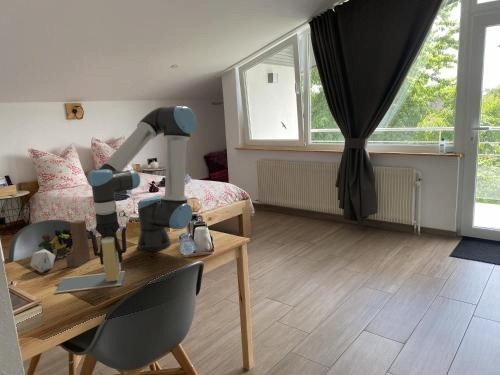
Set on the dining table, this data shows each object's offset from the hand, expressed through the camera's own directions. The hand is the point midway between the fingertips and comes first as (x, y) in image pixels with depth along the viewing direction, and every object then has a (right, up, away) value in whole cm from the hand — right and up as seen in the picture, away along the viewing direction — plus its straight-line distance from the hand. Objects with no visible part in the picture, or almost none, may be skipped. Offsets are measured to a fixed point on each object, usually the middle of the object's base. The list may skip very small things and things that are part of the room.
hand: (112, 271), depth 150 cm
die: (-33, -2, +13) cm, 36 cm away
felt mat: (-8, -4, -1) cm, 9 cm away
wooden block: (-21, -1, +19) cm, 28 cm away
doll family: (-32, +1, +32) cm, 45 cm away
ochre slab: (0, -2, 0) cm, 2 cm away
